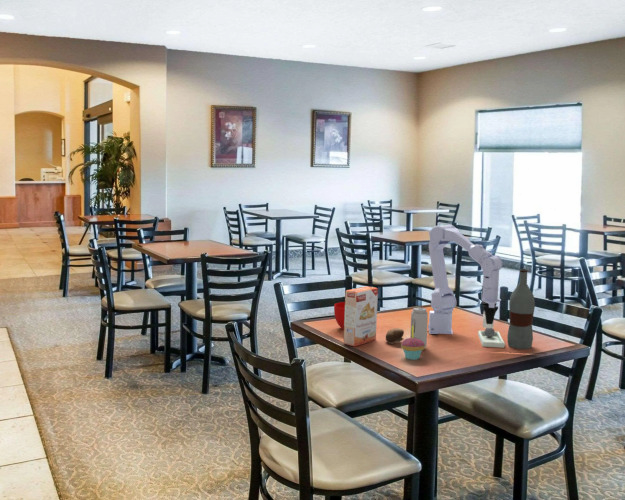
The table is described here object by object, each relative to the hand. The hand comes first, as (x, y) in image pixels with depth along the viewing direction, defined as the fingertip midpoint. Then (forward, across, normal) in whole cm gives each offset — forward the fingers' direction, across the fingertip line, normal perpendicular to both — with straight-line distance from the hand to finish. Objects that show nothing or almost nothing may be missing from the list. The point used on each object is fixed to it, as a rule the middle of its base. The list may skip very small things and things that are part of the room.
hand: (488, 322), depth 250 cm
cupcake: (+9, -25, +28) cm, 39 cm away
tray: (+8, +2, -1) cm, 9 cm away
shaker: (+2, 0, 0) cm, 2 cm away
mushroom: (+9, -6, +36) cm, 37 cm away
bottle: (+9, -3, -11) cm, 15 cm away
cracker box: (+9, -8, +48) cm, 50 cm away
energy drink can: (+9, -12, +26) cm, 30 cm away
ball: (+8, +8, -1) cm, 11 cm away
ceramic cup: (+9, +14, +54) cm, 56 cm away
